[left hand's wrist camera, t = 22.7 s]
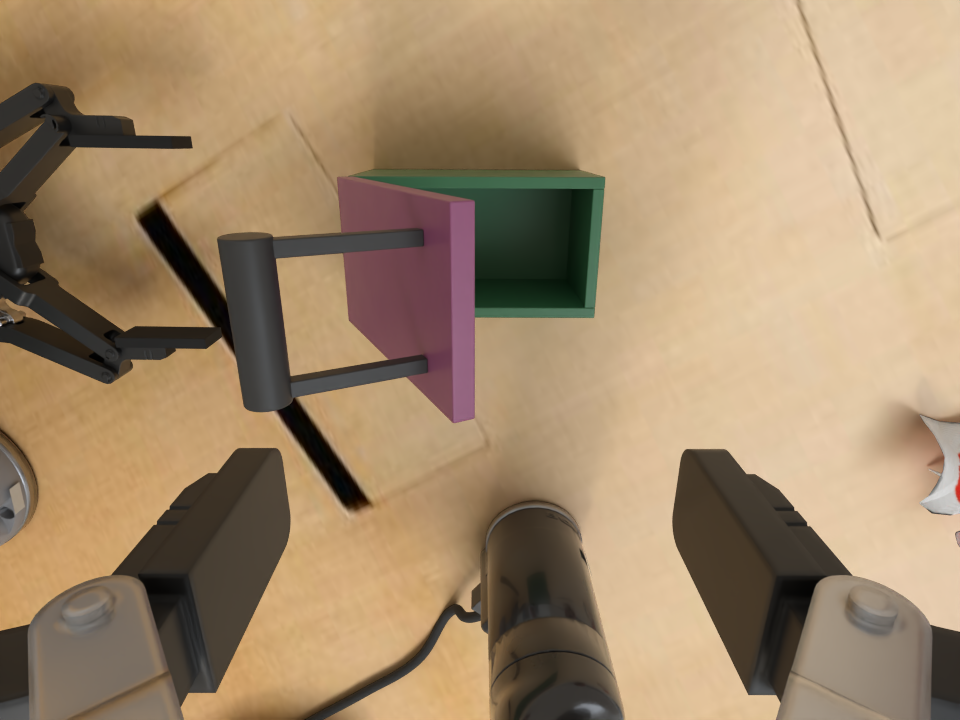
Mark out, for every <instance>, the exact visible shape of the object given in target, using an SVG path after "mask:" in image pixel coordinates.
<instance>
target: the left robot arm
mask: <svg viewBox="0 0 960 720" xmlns="http://www.w3.org/2000/svg"><path fill="white" fill-rule="evenodd" d="M672 523H673V534H674V539H675V543H676V546H677V548H678V551H679V553H680V555H681V557H682V559H683V561H684V563H685V565H686V567H687V569H688V571H689V573H690V575H691V577H692V579H693V581H694V584H695V586H696V588H697V590H698V592H699V594H700V596H701V598H702V600H703V602H704V604H705V606H706V608H707V610H708V612H709V614H710V617H711V619H712V621H713V623H714V625H715V627H716V629H717V631H718V633H719V635H720V637H721V639H722V641H723V643H724V645H725V647H726V649H727V652H728V654H729V656H730V658H731V660H732V662H733V664H734V666H735V668H736V670H737V672H738V674H739V676H740V678H741V680H742V682H743V685H744V687H745V689H746V691H747V693H748V695H777V697H778V699H779V701H780V703H781V704H780V708H779V711H778V715H777V718H776V720H960V632H958V631H954V630H949V629H945V628H940V627H936V626H933V625H930V624H929V621H928V620H927V618H926V617H925V615H924V614H923V613H922V612H921V611H920V610H919V609H918V608H917V607H916V606H915V605H914V604H913V603H912V602H911V601H909V600H908V599H906V598H905V597H904V596H902V595H901V594H899V593H897V592H896V591H894V590H892V589H890V588H888V587H886V586H884V585H882V584H879V583H877V582H874V581H871V580H868V579H865V578H860V577H856V576H852V574H851V573H850V572H849V571H848V570H847V569H846V567H845V566H844V565H843V564H842V563H841V562H840V560H839V559H838V558H837V557H836V556H835V555H834V553H833V552H832V551H831V550H830V549H829V548H828V546H827V545H826V544H825V543H824V542H823V541H822V539H821V538H820V537H819V536H818V535H817V534H816V532H815V531H814V530H813V529H812V528H811V527H810V526H807V522H806V521H805V520H804V518H803V517H802V516H801V515H800V514H799V513H798V511H794V507H793V506H792V504H791V503H790V502H789V501H788V500H787V499H786V497H785V496H784V495H783V494H782V493H781V492H780V490H779V489H777V488H775V487H774V486H772V485H771V484H769V483H768V482H766V481H765V480H763V479H761V478H760V477H758V476H757V475H755V474H746V473H745V472H744V471H743V469H742V468H741V467H740V466H739V464H738V463H737V462H736V461H735V459H734V458H733V457H732V456H731V454H730V453H729V452H728V451H727V450H725V449H686V450H685V451H684V452H683V454H682V457H681V462H680V468H679V475H678V482H677V489H676V496H675V503H674V510H673V520H672ZM289 532H290V509H289V502H288V495H287V488H286V481H285V474H284V467H283V461H282V456H281V453H280V451H279V450H278V449H277V448H238V449H236V450H235V451H234V453H233V454H232V455H231V456H230V458H229V459H228V460H227V461H226V463H225V464H224V465H223V466H222V468H221V469H220V470H219V471H218V473H208V474H207V475H205V476H203V477H202V478H200V479H199V480H197V481H196V482H194V483H193V484H191V485H189V486H188V487H186V488H185V489H184V490H183V491H182V492H181V494H180V495H179V496H178V497H177V498H176V499H175V501H174V502H173V503H172V504H171V505H170V509H169V510H166V511H165V512H164V514H163V515H162V516H161V517H160V518H159V519H158V521H157V525H153V527H152V528H151V529H150V530H149V531H148V532H147V534H146V535H145V536H144V537H143V538H142V540H141V541H140V542H139V543H138V544H137V545H136V547H135V548H134V549H133V550H132V551H131V552H130V554H129V555H128V556H127V557H126V558H125V560H124V561H123V562H122V563H121V564H120V565H119V567H118V568H117V569H116V570H115V571H114V572H113V574H112V575H111V576H104V577H100V578H95V579H92V580H89V581H86V582H83V583H81V584H78V585H76V586H74V587H72V588H70V589H68V590H66V591H64V592H63V593H61V594H59V595H58V596H56V597H55V598H54V599H52V600H51V601H49V602H48V603H47V604H46V605H45V606H44V607H43V608H42V609H41V610H40V611H39V612H38V613H37V614H36V615H35V617H34V618H33V620H32V621H31V623H30V624H29V625H24V626H20V627H16V628H11V629H7V630H2V631H0V720H184V718H183V715H182V711H181V708H180V707H181V705H182V704H183V702H184V700H185V698H186V696H187V694H188V693H216V691H217V689H218V687H219V685H220V683H221V681H222V679H223V677H224V675H225V672H226V670H227V668H228V666H229V664H230V662H231V660H232V658H233V656H234V654H235V652H236V649H237V647H238V645H239V643H240V641H241V639H242V637H243V635H244V633H245V631H246V629H247V627H248V624H249V622H250V620H251V618H252V616H253V614H254V612H255V610H256V608H257V606H258V604H259V601H260V599H261V597H262V595H263V593H264V591H265V589H266V587H267V585H268V583H269V581H270V579H271V576H272V574H273V572H274V570H275V568H276V566H277V564H278V562H279V560H280V558H281V556H282V553H283V551H284V549H285V547H286V545H287V542H288V538H289ZM583 549H584V548H583V546H582V538H581V534H580V530H579V527H578V525H577V523H576V521H575V520H574V518H573V517H572V516H571V515H570V514H569V513H568V512H566V511H565V510H564V509H562V508H560V507H558V506H556V505H554V504H550V503H546V502H540V501H530V502H523V503H519V504H516V505H513V506H511V507H509V508H507V509H505V510H504V511H502V512H501V513H500V514H499V515H498V516H497V517H496V518H495V519H494V520H493V521H492V523H491V524H490V526H489V528H488V531H487V534H486V548H485V549H484V550H483V551H482V552H481V583H480V584H479V585H478V586H477V587H476V588H474V589H473V590H472V606H471V609H472V610H474V612H466V611H465V610H464V609H463V608H462V607H461V606H460V605H457V604H454V605H452V606H450V607H448V608H447V609H446V610H445V611H444V612H443V613H442V615H441V616H440V618H439V619H438V621H437V623H436V625H435V627H434V628H433V630H432V632H431V634H430V636H429V638H428V640H427V641H426V643H425V645H424V646H423V648H422V649H421V650H420V651H419V653H418V654H417V655H416V656H415V657H413V658H412V659H411V660H410V661H409V662H407V663H406V664H405V665H403V666H402V667H400V668H399V669H397V670H396V671H394V672H392V673H390V674H389V675H387V676H385V677H383V678H381V679H379V680H377V681H375V682H373V683H371V684H369V685H368V686H366V687H364V688H362V689H360V690H359V691H357V692H355V693H353V694H352V695H350V696H348V697H346V698H344V699H342V700H340V701H339V702H337V703H335V704H333V705H331V706H329V707H327V708H325V709H323V710H322V711H320V712H318V713H316V714H314V715H312V716H311V717H309V718H307V719H305V720H324V719H325V718H327V717H329V716H331V715H333V714H335V713H337V712H339V711H341V710H343V709H344V708H346V707H348V706H350V705H352V704H354V703H356V702H357V701H359V700H361V699H363V698H365V697H366V696H368V695H370V694H372V693H374V692H376V691H377V690H379V689H381V688H383V687H385V686H387V685H389V684H391V683H393V682H395V681H397V680H398V679H400V678H402V677H403V676H405V675H406V674H408V673H409V672H411V671H412V670H413V669H415V668H416V667H417V666H418V665H419V664H420V663H421V662H422V661H423V660H424V659H425V658H426V657H427V656H428V655H429V653H430V652H431V650H432V649H433V647H434V645H435V643H436V642H437V640H438V638H439V636H440V634H441V632H442V630H443V628H444V626H445V625H446V623H447V622H448V620H449V619H450V618H451V617H452V616H453V615H455V614H456V615H457V617H458V618H459V619H460V620H461V621H463V622H466V623H473V622H478V621H481V628H482V630H483V631H484V632H486V633H487V634H488V647H489V696H490V698H489V707H490V720H625V714H624V708H623V704H622V700H621V696H620V692H619V688H618V685H617V681H616V677H615V673H614V669H613V665H612V661H611V657H610V653H609V650H608V646H607V642H606V638H605V634H604V630H603V626H602V622H601V618H600V614H599V610H598V606H597V602H596V598H595V594H594V590H593V586H592V582H591V578H590V574H589V570H588V566H589V564H588V566H587V563H588V561H587V562H586V560H587V558H585V556H586V555H585V554H584V553H585V551H584V550H583ZM589 569H590V568H589ZM590 573H591V571H590ZM591 576H592V575H591Z"/></svg>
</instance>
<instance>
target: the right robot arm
mask: <svg viewBox="0 0 960 720" xmlns="http://www.w3.org/2000/svg"><path fill="white" fill-rule="evenodd" d="M74 100H75V99H74V94H73V92H72V91H71V90H70V89H69V88H67V87H63V86H57V85H49V84H40V83H34V84H31V85H30V86H28V87H27V88H25V89H23V90H22V91H20V92H18V93H17V94H15V95H14V96H12V97H10V98H9V99H7V100H5V101H4V102H2V103H1V104H0V148H1V147H3V146H4V145H6V144H8V143H9V142H11V141H13V140H14V139H16V138H18V137H19V136H21V135H23V134H24V133H26V132H28V131H29V130H31V129H33V128H34V127H36V126H38V125H39V124H41V123H43V122H44V121H45V122H44V123H43V124H42V125H41V126H40V127H39V129H38V130H37V131H36V132H35V133H34V134H33V135H32V137H31V138H30V139H29V140H28V141H27V142H26V143H25V145H24V146H23V147H22V148H21V149H20V150H19V152H18V153H17V154H16V155H15V156H14V157H13V158H12V160H11V161H10V162H9V163H8V164H7V165H6V166H5V168H4V169H3V170H2V171H1V172H0V342H5V343H11V344H13V345H16V346H18V347H20V348H23V349H25V350H27V351H30V352H32V353H34V354H37V355H39V356H42V357H44V358H46V359H49V360H51V361H53V362H56V363H58V364H60V365H63V366H65V367H68V368H70V369H72V370H75V371H77V372H79V373H82V374H84V375H86V376H89V377H91V378H93V379H96V380H98V381H101V382H103V383H106V384H111V383H112V382H114V381H115V380H117V379H119V378H120V377H122V376H123V375H125V374H126V373H128V372H129V371H131V370H132V368H133V364H132V362H131V359H139V360H146V359H148V360H152V359H153V360H161V359H164V358H166V357H168V356H169V355H171V354H172V353H174V352H175V351H176V349H175V348H186V349H207V348H208V347H209V346H211V345H212V344H213V343H215V342H216V341H217V340H218V339H220V338H221V337H222V334H221V328H218V327H148V326H135V327H133V328H131V329H129V330H128V331H126V332H124V331H123V330H121V329H120V328H118V327H117V326H115V325H114V324H113V323H111V322H110V321H108V320H107V319H105V318H104V317H103V316H101V315H100V314H98V313H97V312H95V311H94V310H92V309H91V308H90V307H88V306H87V305H85V304H84V303H82V302H81V301H79V300H78V299H77V298H75V297H74V296H72V295H71V294H69V293H68V292H67V291H65V290H64V289H62V288H61V287H60V286H59V285H58V284H59V282H58V281H57V280H56V279H55V278H53V277H52V276H50V275H49V274H48V273H46V272H45V271H43V270H42V269H40V264H41V263H44V261H43V257H42V254H41V251H40V249H39V247H38V245H37V243H36V241H35V227H34V223H33V219H28V217H27V216H26V215H25V213H24V212H23V211H24V210H25V209H26V207H27V206H28V205H29V204H30V203H31V202H32V201H33V200H34V199H35V197H36V194H35V193H36V191H37V190H38V189H39V188H40V187H41V186H42V185H43V183H44V182H45V181H46V180H47V179H48V178H49V177H50V176H51V175H52V173H53V172H54V171H55V170H56V169H57V168H58V167H59V166H60V165H61V163H62V162H63V161H64V160H65V159H66V158H67V157H68V156H69V155H70V154H71V152H72V151H73V150H74V149H75V148H76V147H94V148H157V149H183V148H192V141H191V136H136V135H135V129H134V124H133V120H131V119H129V118H127V117H122V116H95V115H83V114H82V113H80V112H79V111H78V109H77V108H76V106H75V104H74ZM27 282H29V283H30V284H28V285H24V284H26V283H27ZM5 299H9V300H10V301H12V302H13V303H15V304H17V305H20V306H26V307H29V308H30V309H32V310H33V311H35V312H36V313H38V314H39V315H41V316H42V317H44V318H45V319H47V320H48V321H50V322H51V323H52V324H54V325H55V326H57V327H58V328H56V327H54V326H52V325H49V324H47V323H45V322H42V321H40V320H37V319H33V318H28V317H26V314H25V312H24V311H17V310H15V309H12V308H10V307H9V306H8V305H7V303H6V301H5ZM59 328H60V329H59ZM37 500H38V491H37V484H36V480H35V477H34V474H33V471H32V469H31V467H30V465H29V463H28V461H27V460H26V458H25V457H24V455H23V454H22V452H21V451H20V450H19V449H18V447H17V446H16V445H15V444H14V443H13V442H12V441H11V440H10V439H9V438H8V437H7V436H6V435H5V434H3V433H2V432H1V431H0V546H1V545H2V544H4V543H6V542H7V541H9V540H10V539H11V538H13V537H14V536H15V535H16V534H17V533H19V532H20V531H21V530H22V529H23V528H24V527H25V526H26V525H27V524H28V523H29V522H30V520H31V519H32V517H33V515H34V513H35V510H36V506H37Z"/></svg>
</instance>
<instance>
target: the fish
mask: <svg viewBox="0 0 960 720" xmlns="http://www.w3.org/2000/svg"><path fill="white" fill-rule="evenodd" d="M919 415H920V414H919ZM920 417H921V418H922V420H923V421H924V423H925V424H926V425H927V427H928V428H929V429H930V431H931V432H932V433H933V434H934V436H935V438H936V440H937V442H938V444H939V446H940V448H941V450H942V452H943V455H944V457H945V459H944V466H943V471H942V473H938V472H936V471H933V470H931V469H928V470H930V471H932V472H933V473H935V474H937V475H939V476H940V478H939V480H938V482H937V484H936V486H935V487H934V489H933V490H932V491H931V493H930V494H929V496H928V497H926V498H925V499H924V500H922V501H921V502H920V504H921V505H922V506H923V507H925V508H926V509H927V510H928V511H930V512H931V513H933V514H943V515H954V514H959V513H960V423H956V422H941V421H937V420H934V419H931V418H929V417H925V416H922V415H920ZM955 535H956V539H957V543H958V545H959V547H960V531H958V532H956V533H955Z"/></svg>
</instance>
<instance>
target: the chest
mask: <svg viewBox="0 0 960 720" xmlns="http://www.w3.org/2000/svg"><path fill="white" fill-rule="evenodd" d="M348 177H358V178H363V179H368V180H373V181H378V182H383V183H388V184H393V185H399V186H404V187H409V188H414V189H419V190H424V191H429V192H434V193H439V194H444V195H450V196H455V197H460V198H465V199H470V200H474V202H475V317H506V318H594V313H595V300H596V288H597V275H598V263H599V250H600V237H601V225H602V212H603V199H604V187H605V177H602V176H599V175H595V174H592V173H588V172H585V171H581V170H442V169H373V170H369V171H365V172H362V173H358V174H354V175H350V176H348Z"/></svg>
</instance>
